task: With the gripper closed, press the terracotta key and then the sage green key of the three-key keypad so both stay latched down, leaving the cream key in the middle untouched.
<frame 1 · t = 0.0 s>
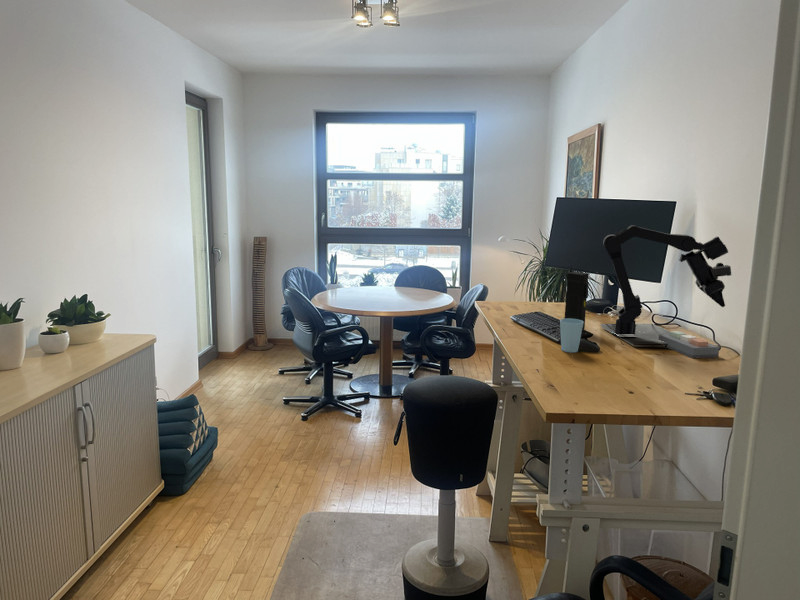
hand: (720, 304, 208), 15 cm above the table, tool tilted 35°, fingers open, 9 cm apart
sage key: (677, 335, 206), point 4 cm above the table, slide at 0.0 cm
portable radio: (574, 329, 228), on the table
keypad: (687, 350, 202), on the table
cup: (569, 350, 198), on the table
terracotta key: (699, 344, 196), point 4 cm above the table, slide at 0.0 cm
cream key: (688, 339, 201), point 4 cm above the table, slide at 0.0 cm
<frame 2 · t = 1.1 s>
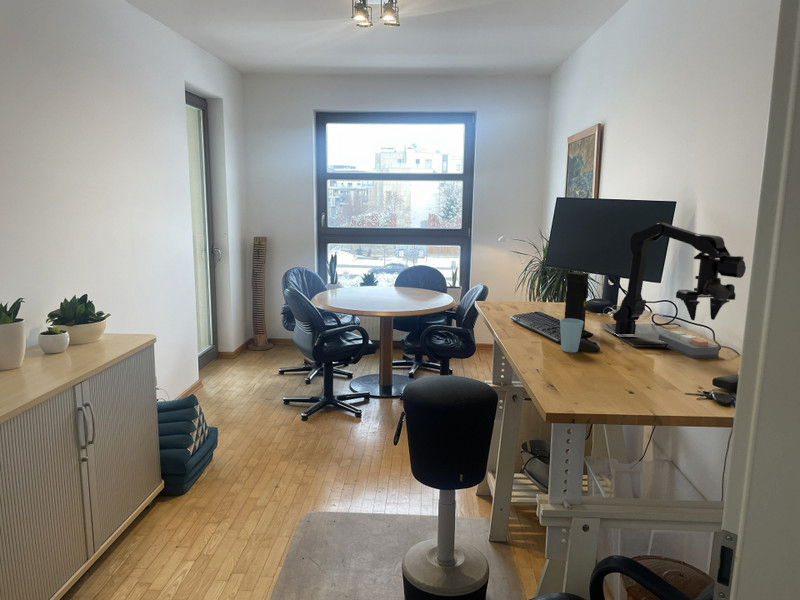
hand: (702, 319, 194), 12 cm above the table, tool pointing down, fingers open, 7 cm apart
nothing on the table moved.
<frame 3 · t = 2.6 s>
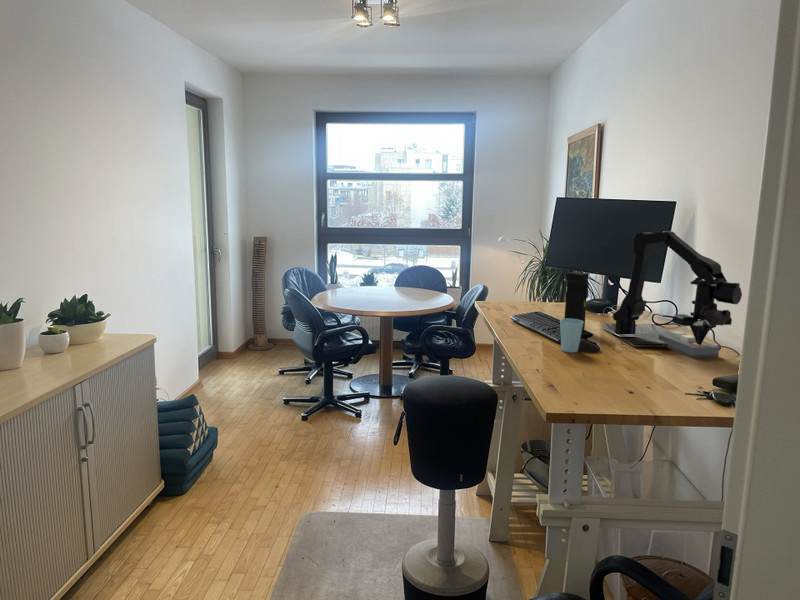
hand: (698, 344, 196), 4 cm above the table, tool pointing down, fingers closed, pressing on terracotta key
terracotta key: (698, 347, 196), point 2 cm above the table, slide at 1.3 cm, touching gripper
everything else where it was.
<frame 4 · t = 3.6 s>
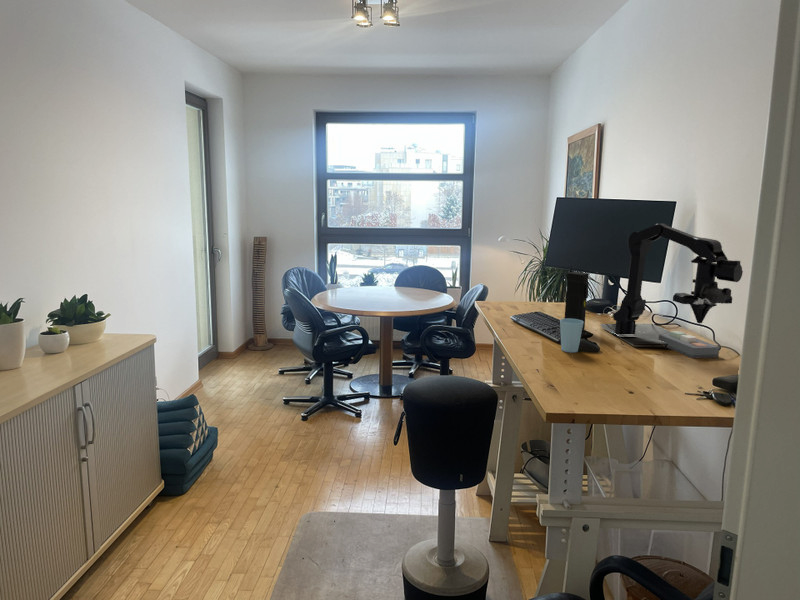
hand: (699, 323, 195), 11 cm above the table, tool pointing down, fingers closed
terracotta key: (698, 347, 196), point 2 cm above the table, slide at 1.4 cm
everything else where it was.
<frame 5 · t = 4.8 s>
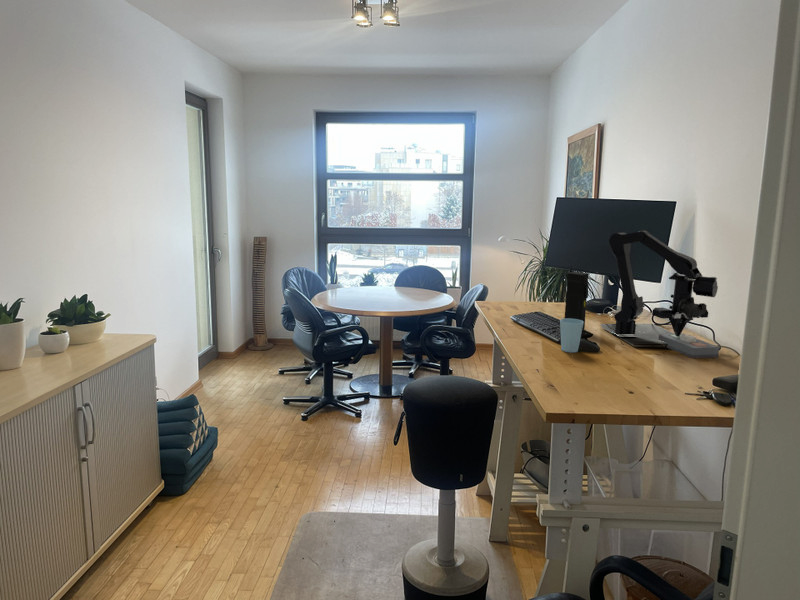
hand: (677, 336, 206), 4 cm above the table, tool pointing down, fingers closed, pressing on sage key
sage key: (677, 339, 206), point 2 cm above the table, slide at 1.3 cm, touching gripper
everything else where it was.
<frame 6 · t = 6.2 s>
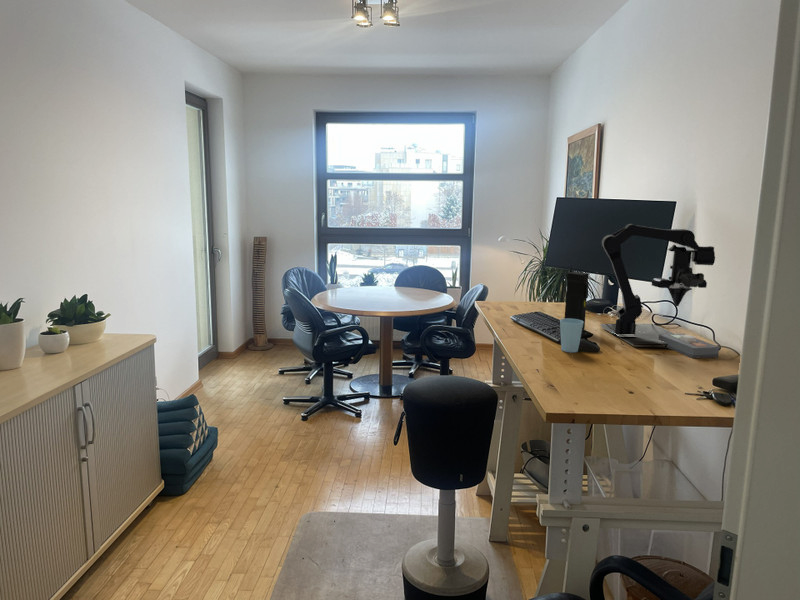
hand: (676, 305, 213), 13 cm above the table, tool pointing down, fingers closed
sage key: (677, 339, 207), point 2 cm above the table, slide at 1.4 cm
everything else where it was.
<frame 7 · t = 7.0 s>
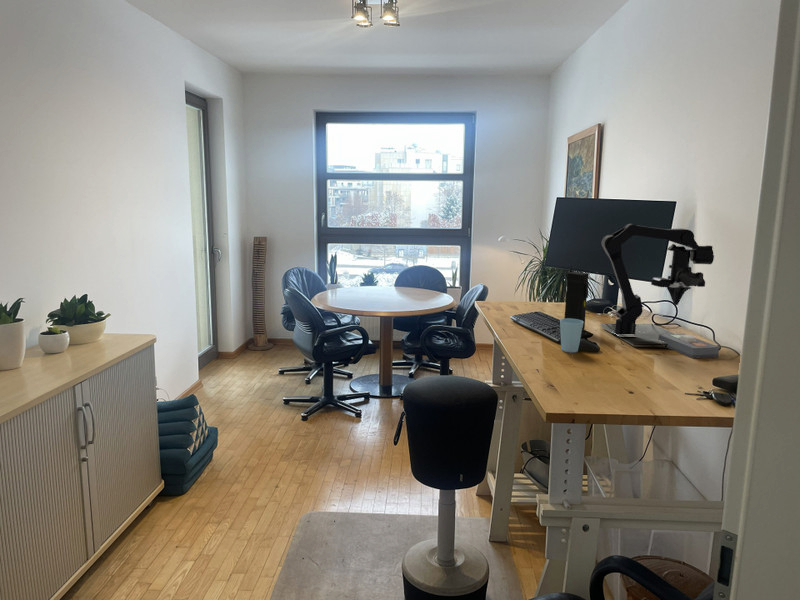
hand: (675, 305, 215), 13 cm above the table, tool pointing down, fingers closed
nothing on the table moved.
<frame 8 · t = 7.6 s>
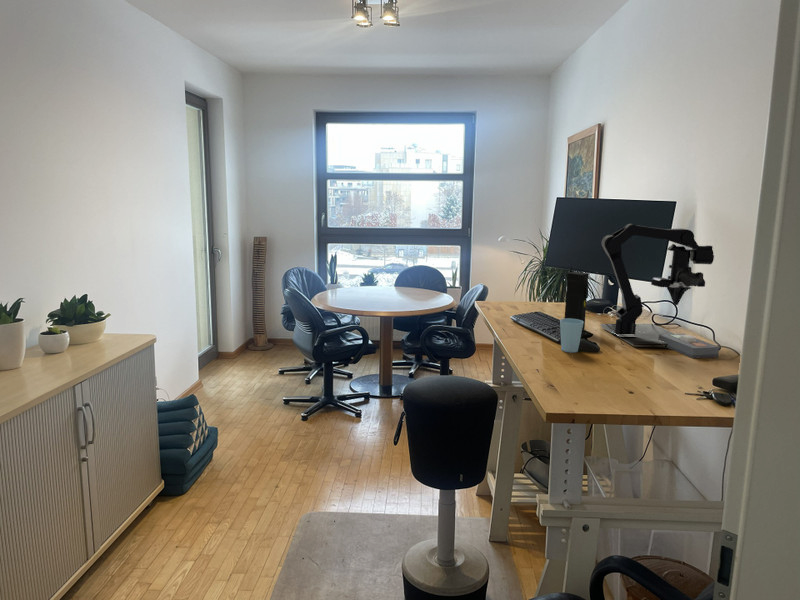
hand: (675, 305, 215), 13 cm above the table, tool pointing down, fingers closed
nothing on the table moved.
at the end: terracotta key slide at 1.4 cm; sage key slide at 1.4 cm; cream key slide at 0.0 cm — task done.
